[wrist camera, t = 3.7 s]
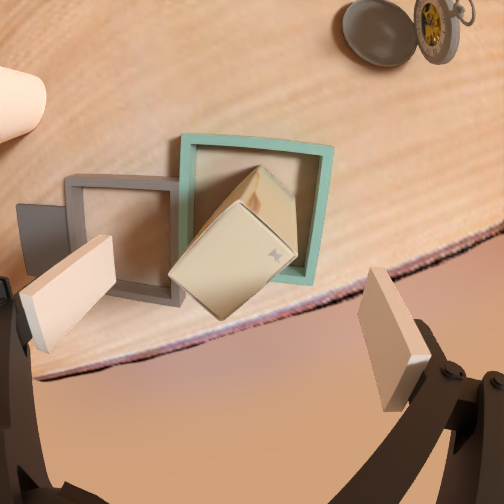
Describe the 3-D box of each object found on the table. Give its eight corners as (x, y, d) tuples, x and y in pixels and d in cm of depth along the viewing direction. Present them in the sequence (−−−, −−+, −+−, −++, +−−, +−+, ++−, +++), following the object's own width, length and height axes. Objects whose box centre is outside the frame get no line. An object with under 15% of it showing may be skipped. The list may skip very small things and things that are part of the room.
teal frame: (184, 261, 30) (178, 270, 29) (188, 132, 26) (181, 133, 24) (311, 276, 30) (312, 286, 28) (330, 145, 25) (334, 147, 23)
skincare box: (260, 162, 26) (241, 191, 15) (297, 197, 27) (305, 252, 16) (210, 214, 28) (162, 275, 17) (245, 247, 29) (221, 325, 18)
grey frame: (86, 280, 33) (77, 288, 31) (75, 173, 28) (64, 177, 26) (185, 297, 32) (179, 307, 30) (186, 177, 27) (179, 181, 26)
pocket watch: (324, 22, 21) (344, -27, 12) (392, -17, 18) (434, -64, 9) (386, 96, 23) (437, 85, 14) (449, 54, 20) (512, 34, 11)
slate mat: (29, 272, 33) (27, 274, 33) (18, 203, 30) (15, 204, 29) (83, 283, 33) (80, 286, 32) (74, 206, 29) (70, 208, 29)
